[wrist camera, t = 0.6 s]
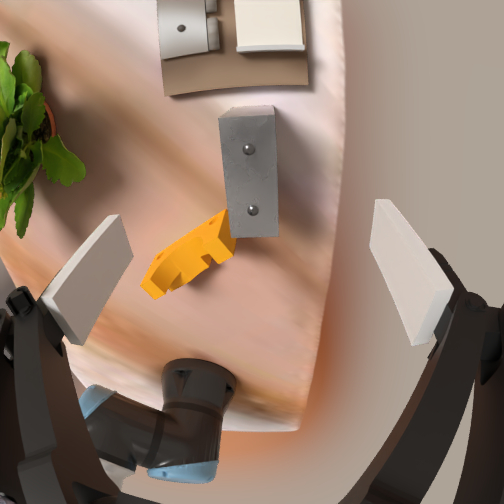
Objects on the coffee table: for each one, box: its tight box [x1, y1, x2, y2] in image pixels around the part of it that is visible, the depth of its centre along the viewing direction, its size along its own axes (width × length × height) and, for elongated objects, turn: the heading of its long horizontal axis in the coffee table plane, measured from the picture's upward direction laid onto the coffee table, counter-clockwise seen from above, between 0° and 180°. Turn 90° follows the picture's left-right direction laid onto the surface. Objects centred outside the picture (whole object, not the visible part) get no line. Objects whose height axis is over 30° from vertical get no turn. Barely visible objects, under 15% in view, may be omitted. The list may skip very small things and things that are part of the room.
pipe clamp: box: [140, 209, 237, 300], centre depth 33 cm, size 12×4×6 cm, turn 125°
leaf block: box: [218, 105, 279, 238], centre depth 25 cm, size 10×4×9 cm, turn 4°
